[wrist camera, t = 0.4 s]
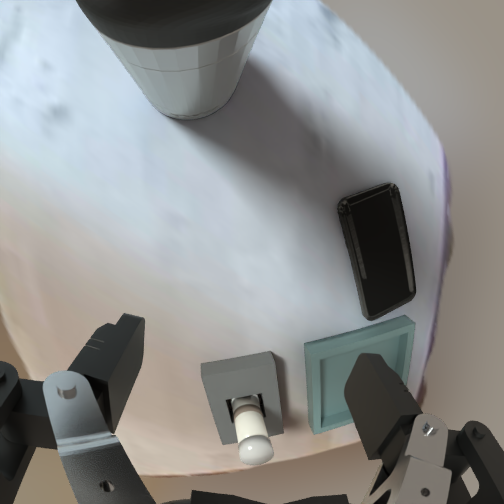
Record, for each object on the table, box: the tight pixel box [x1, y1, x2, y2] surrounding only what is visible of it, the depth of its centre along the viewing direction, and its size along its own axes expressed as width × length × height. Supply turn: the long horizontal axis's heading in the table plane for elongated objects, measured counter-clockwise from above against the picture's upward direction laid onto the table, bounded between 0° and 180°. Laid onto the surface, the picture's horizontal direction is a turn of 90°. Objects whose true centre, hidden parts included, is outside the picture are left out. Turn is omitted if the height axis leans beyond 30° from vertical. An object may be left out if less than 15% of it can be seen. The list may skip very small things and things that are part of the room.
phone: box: [337, 183, 416, 321], centre depth 33 cm, size 8×1×15 cm
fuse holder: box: [201, 351, 284, 445], centre depth 34 cm, size 12×8×2 cm, turn 8°
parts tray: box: [304, 315, 415, 435], centre depth 36 cm, size 14×14×2 cm
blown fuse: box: [230, 394, 274, 465], centre depth 30 cm, size 3×3×10 cm
